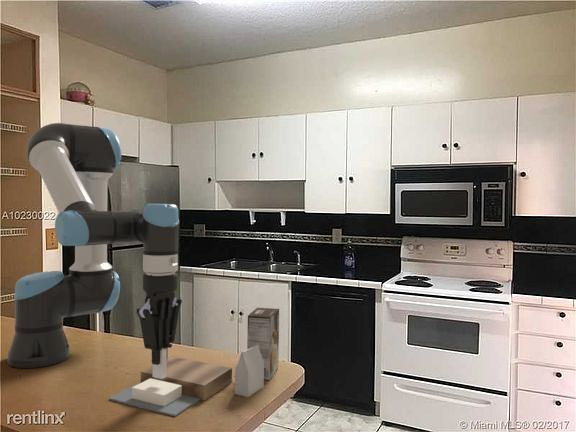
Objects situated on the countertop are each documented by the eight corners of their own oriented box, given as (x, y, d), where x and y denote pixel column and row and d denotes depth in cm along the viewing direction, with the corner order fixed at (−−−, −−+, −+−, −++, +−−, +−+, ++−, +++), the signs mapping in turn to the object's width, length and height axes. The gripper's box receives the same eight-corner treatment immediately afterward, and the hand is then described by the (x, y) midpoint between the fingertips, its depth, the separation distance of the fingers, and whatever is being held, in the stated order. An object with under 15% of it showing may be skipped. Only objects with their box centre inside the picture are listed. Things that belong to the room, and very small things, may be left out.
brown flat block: (140, 386, 112) (140, 371, 112) (172, 369, 123) (172, 356, 123) (204, 400, 105) (204, 385, 105) (231, 381, 116) (232, 367, 116)
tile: (131, 398, 105) (131, 387, 105) (150, 388, 110) (150, 378, 110) (164, 406, 101) (164, 395, 101) (181, 395, 106) (181, 385, 106)
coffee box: (255, 365, 128) (256, 306, 127) (278, 367, 126) (280, 308, 126) (246, 378, 119) (247, 315, 118) (270, 380, 117) (272, 316, 117)
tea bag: (263, 387, 113) (264, 346, 113) (247, 397, 108) (248, 353, 107) (250, 383, 115) (251, 343, 115) (234, 393, 109) (235, 351, 109)
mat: (109, 399, 104) (109, 397, 104) (136, 385, 112) (136, 383, 112) (175, 416, 97) (175, 414, 97) (199, 400, 105) (199, 398, 105)
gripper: (154, 278, 98) (153, 390, 99) (191, 270, 110) (190, 370, 111) (126, 275, 101) (125, 384, 102) (165, 267, 113) (164, 364, 114)
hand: (159, 376), depth 106 cm, fingers closed
